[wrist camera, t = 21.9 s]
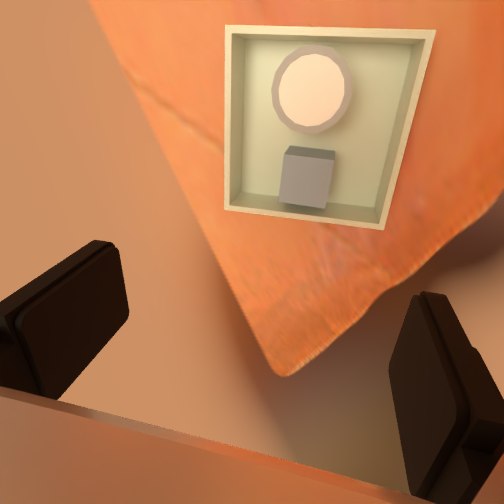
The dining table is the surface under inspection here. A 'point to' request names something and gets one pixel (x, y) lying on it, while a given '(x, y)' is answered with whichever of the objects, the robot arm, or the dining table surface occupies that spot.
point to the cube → (306, 176)
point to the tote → (334, 138)
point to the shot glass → (311, 89)
